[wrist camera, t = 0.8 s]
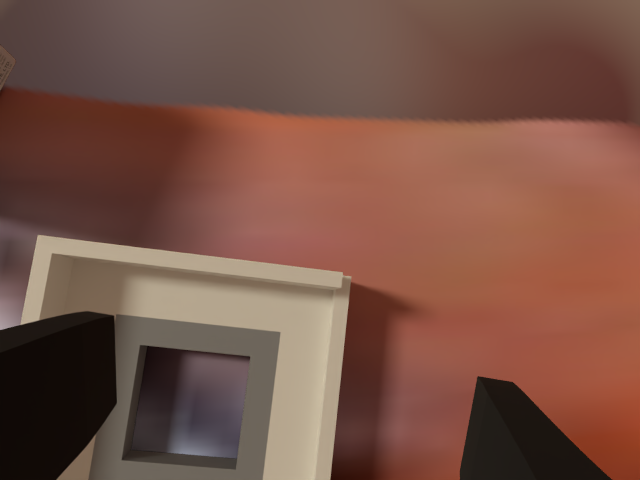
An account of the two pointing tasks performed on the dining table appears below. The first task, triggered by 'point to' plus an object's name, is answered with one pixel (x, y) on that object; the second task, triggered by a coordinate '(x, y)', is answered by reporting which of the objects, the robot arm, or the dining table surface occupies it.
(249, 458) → the walled box
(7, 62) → the ink cartridge box
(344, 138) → the dining table surface
